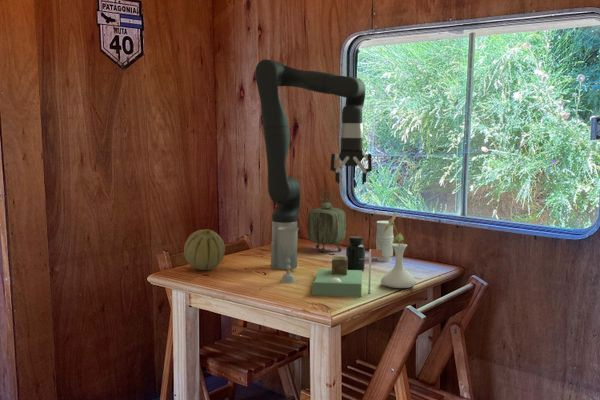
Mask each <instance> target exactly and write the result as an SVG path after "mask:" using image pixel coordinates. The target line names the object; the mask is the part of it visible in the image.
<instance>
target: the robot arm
mask: <svg viewBox="0 0 600 400" xmlns="http://www.w3.org/2000/svg"><path fill="white" fill-rule="evenodd" d="M254 71H255V72H254V73H255V75H254V77H255V82H256V88H257V91H258V95H259V101H260V111H261V117H262V125H263V126H262V127H263V136H264V137H263V138H264V143H265V153H266V163H267V191H268V196H269V197H270V199H271V201H272V202H274V203H276V204H277V207H276V209H275V210H274V211H273V213H272V215H271V218H272V219H271V224H272V225H271V234H272V235H271V242H270V268H271V269H276V270H283V271H284V270H286V271H287V268H286V266H287V262H286V261H287V256H286V255H284V253H283V251H282V249H281V246H280V231H279V229H278V228H280V227H298V216H299V214H300V210H301V209H300V208H301V187H300V182H299V181H298V180H297V179H296V178H295V177H292V176H288V173H287V166H286V165H287V157H288V154H289V148H290V144H291V135H290V133H291V132H290V125H289V120H288V117H287V115H286V112H285V109H284V108H283V106H282V104H281V100H280V93H279V87H291V88H292V87H294V88H299V89H303V90H308V91H311V92H314V93H315V92H316V93H320V94H325V95H335V96H338V97H341V98H342V97H343V98H345V105H344V107H342V109H341V127H340V153H335V152H332V154H331V156H330V171H331V172H334V173H335V175H334V176H335V177H334V178H335V182H336V184H337V185H338V184H340V180H341V179H340V177H341V175H340V173H341V172H340V171H341V170H342V169H343V168H344V166H345V167H350V166H351V167H359V168H360V170H361V171H362V175H361V178H362V179H361V185H365V183H367V174H368V173H369V172H372V171H373V166H372V165H373V164H372V162H373V160H372V154H371V153H367V154H364V153H363V146H364V145H363V143H364V140H363V136H364V130H363V129H364V128H363V108H364V105H365V99H366V84H365V83H364V81H363V80H362V79H360V78H357V77H353V76H346V75H345V76H344V75H336V74H334V73H328V72H322V71H316V70H303V69H297V68H293V67H291V66H288V65H285V64H283V63H280V62H279V61H276V60H272V59H267V58H265V59H264V58H263V59H262V60H260V61H259V62H258V63H257V65H256V67H255V70H254ZM338 158H339V160H341V163H340V164H339V165H338V167H335V163H336V162H335V161H337V160H338ZM364 158H365V161H367V168H366V167H365V166H364V165H363V163H362V160H363V159H364ZM290 261H291V262H290V267H291V268H290V270H294V269H297V268H298V244H297V245H296V248H295V250H294V253H293V255H291V256H290Z"/></svg>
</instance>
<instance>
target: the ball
mask: <svg viewBox="0 0 600 400" xmlns="http://www.w3.org/2000/svg"><path fill="white" fill-rule="evenodd" d="M329 282H342V281H341V280H340V279H339V278H336V277H335V278H332V279H330V281H329Z"/></svg>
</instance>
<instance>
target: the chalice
mask: <svg viewBox="0 0 600 400" xmlns="http://www.w3.org/2000/svg"><path fill="white" fill-rule="evenodd" d="M278 229H279V231H280V246H281V249H282V251H283V253H284V255H286V256H287V261H286V262H287V266H286V268H287V270H286V272H285V273H284V274H283V275H282V278H281V280H280V282H281V283H284V284H294V283H296V280H295V279H296V278H295V275H293V274H292V273H291V269H290V268H291V267H290V262H291V261H290V256H291V255H293V253H294V250H295V248H296V245H297V246H298V234H299V233H298V231H299V230H300V228H299V227H298V226H297V227H280V228H278Z"/></svg>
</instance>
